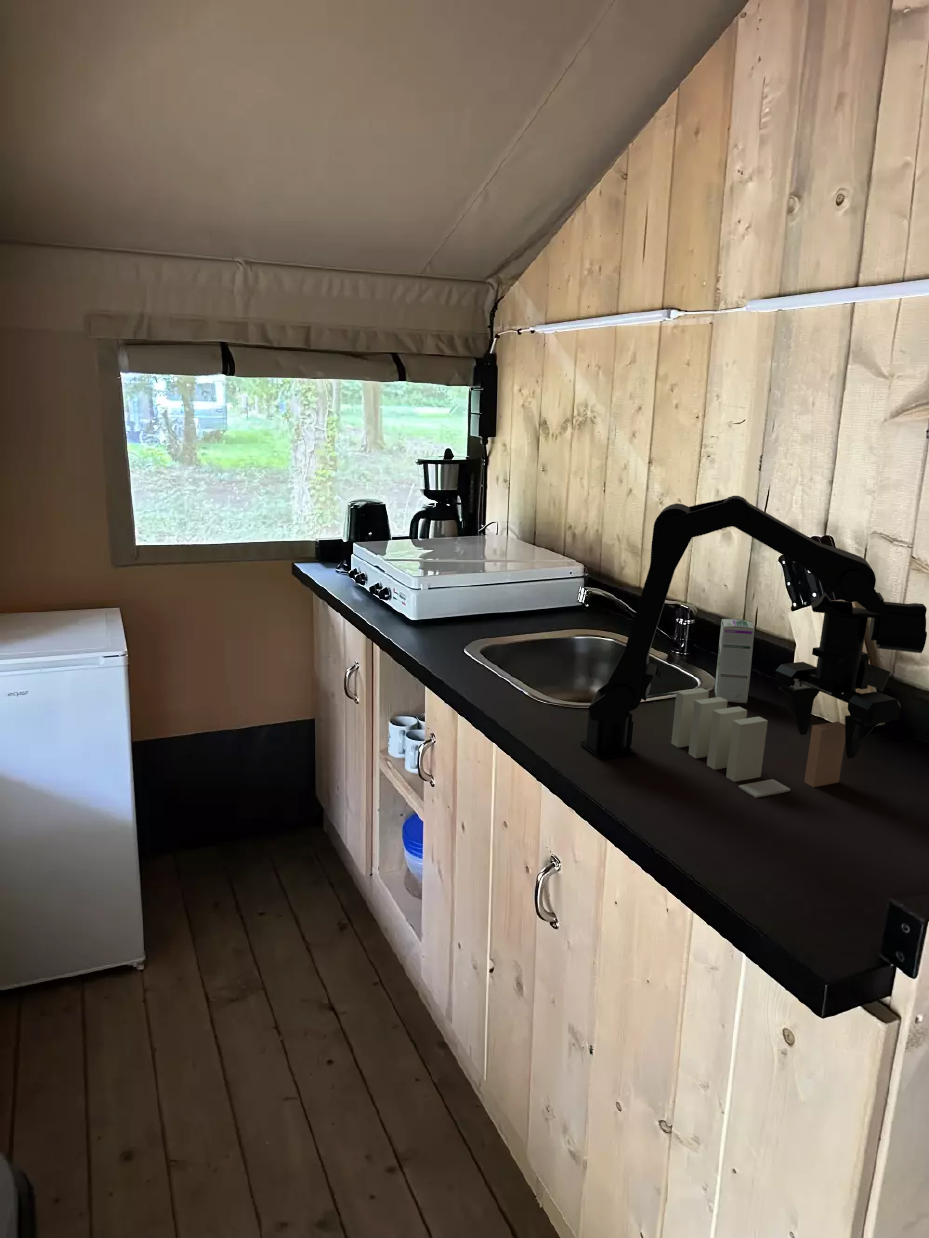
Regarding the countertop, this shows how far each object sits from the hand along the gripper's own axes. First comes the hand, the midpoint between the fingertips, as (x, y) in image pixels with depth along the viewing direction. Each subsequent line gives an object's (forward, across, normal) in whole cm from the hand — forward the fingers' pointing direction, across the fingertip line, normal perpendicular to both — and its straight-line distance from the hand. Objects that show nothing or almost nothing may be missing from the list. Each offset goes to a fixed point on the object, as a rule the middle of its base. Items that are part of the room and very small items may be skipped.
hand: (826, 745), depth 133 cm
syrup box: (+6, +35, -12) cm, 37 cm away
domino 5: (+6, 0, 0) cm, 6 cm away
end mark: (+6, +1, +10) cm, 12 cm away
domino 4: (+6, +5, +10) cm, 13 cm away
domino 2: (+6, +14, +10) cm, 18 cm away
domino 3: (+6, +10, +10) cm, 15 cm away
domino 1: (+6, +19, +10) cm, 22 cm away
